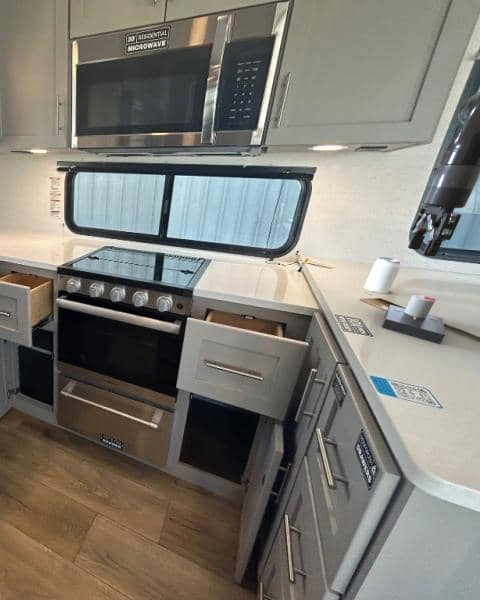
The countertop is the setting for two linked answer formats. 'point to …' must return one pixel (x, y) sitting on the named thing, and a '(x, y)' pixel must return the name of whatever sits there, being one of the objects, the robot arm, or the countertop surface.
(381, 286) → the can
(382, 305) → the cork mat
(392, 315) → the block
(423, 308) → the knob
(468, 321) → the countertop surface
